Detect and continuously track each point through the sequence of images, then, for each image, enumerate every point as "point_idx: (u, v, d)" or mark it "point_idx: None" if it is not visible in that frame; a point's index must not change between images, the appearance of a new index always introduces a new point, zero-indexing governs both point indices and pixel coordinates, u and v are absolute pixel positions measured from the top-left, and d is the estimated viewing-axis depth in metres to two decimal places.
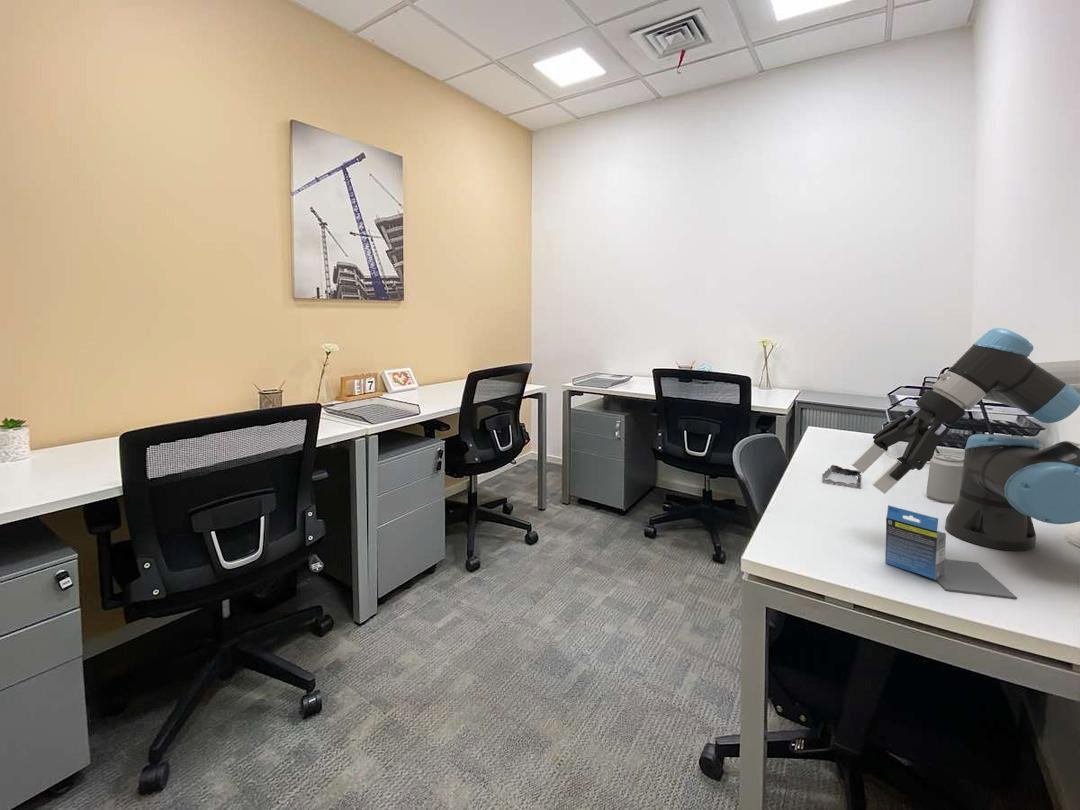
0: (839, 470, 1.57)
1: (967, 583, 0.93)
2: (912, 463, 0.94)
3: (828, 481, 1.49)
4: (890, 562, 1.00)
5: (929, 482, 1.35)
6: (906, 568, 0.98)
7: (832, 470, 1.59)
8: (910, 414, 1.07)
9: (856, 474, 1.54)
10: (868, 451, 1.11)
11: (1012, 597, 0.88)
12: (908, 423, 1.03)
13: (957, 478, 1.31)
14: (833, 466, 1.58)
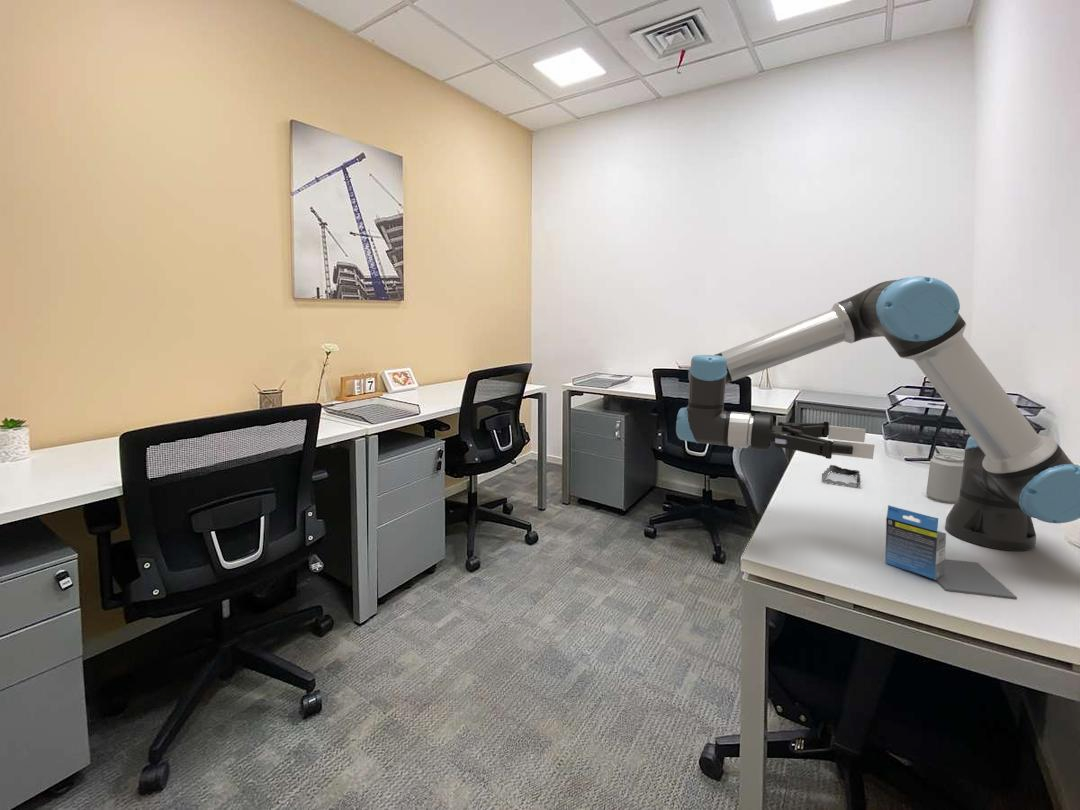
0: (838, 469, 1.58)
1: (967, 583, 0.93)
2: (826, 453, 0.93)
3: (828, 481, 1.49)
4: (890, 562, 1.00)
5: (929, 482, 1.35)
6: (906, 568, 0.98)
7: (831, 470, 1.59)
8: None
9: (855, 474, 1.55)
10: (839, 438, 1.06)
11: (1012, 597, 0.88)
12: None
13: (957, 478, 1.31)
14: (832, 466, 1.59)
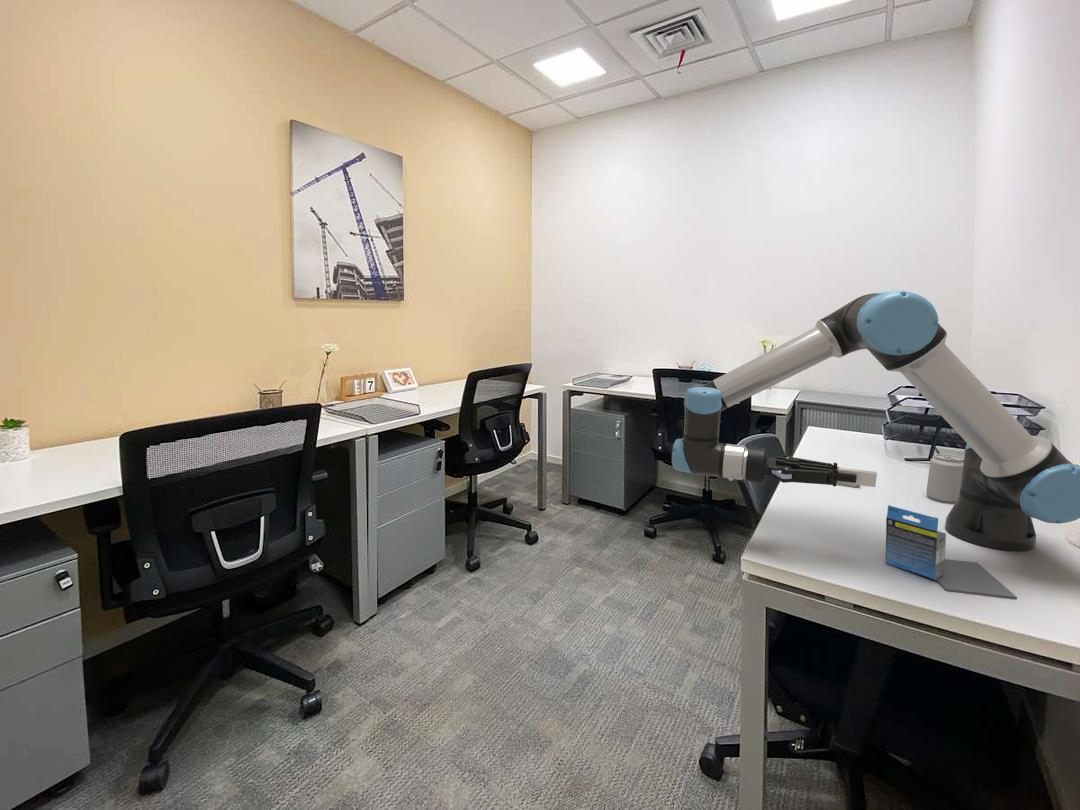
0: None
1: (967, 583, 0.93)
2: (832, 482, 0.99)
3: None
4: (890, 562, 1.00)
5: (929, 482, 1.35)
6: (906, 568, 0.98)
7: None
8: None
9: None
10: None
11: (1012, 597, 0.88)
12: None
13: (957, 478, 1.31)
14: None
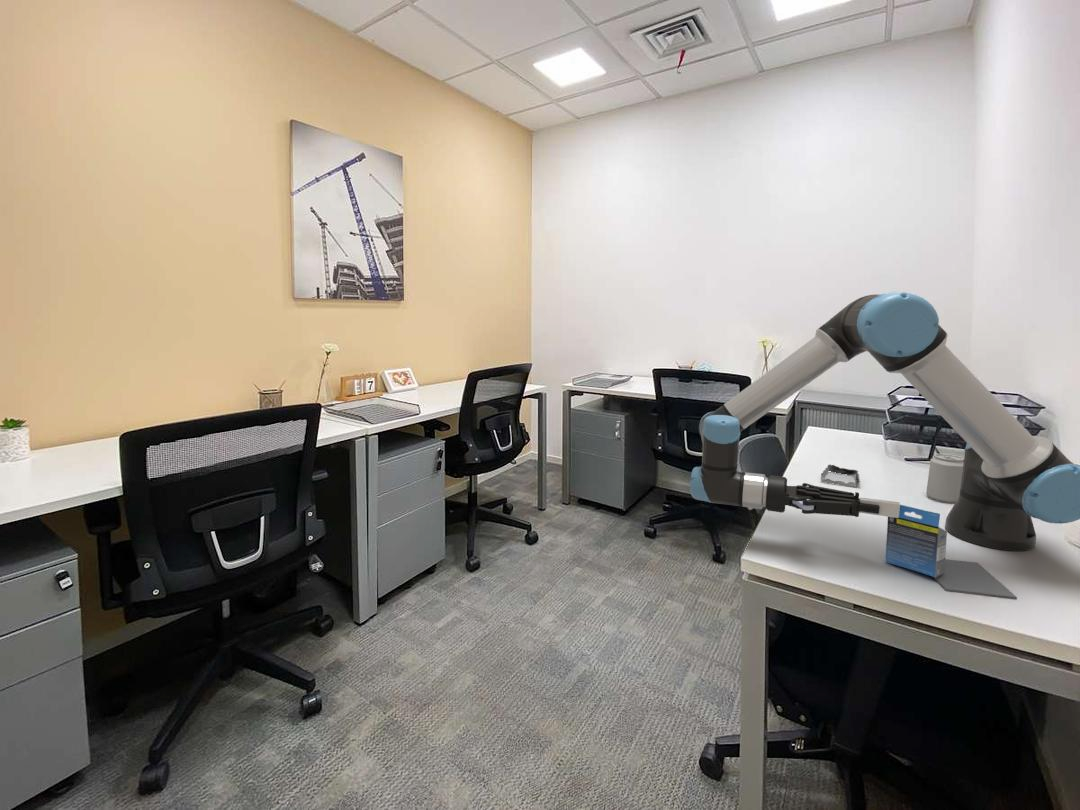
0: (836, 469, 1.58)
1: (967, 583, 0.93)
2: (854, 513, 0.98)
3: (827, 481, 1.49)
4: (890, 561, 1.00)
5: (929, 482, 1.35)
6: (906, 566, 0.98)
7: (829, 470, 1.59)
8: None
9: (853, 473, 1.55)
10: None
11: (1012, 597, 0.88)
12: None
13: (957, 478, 1.31)
14: (830, 466, 1.59)
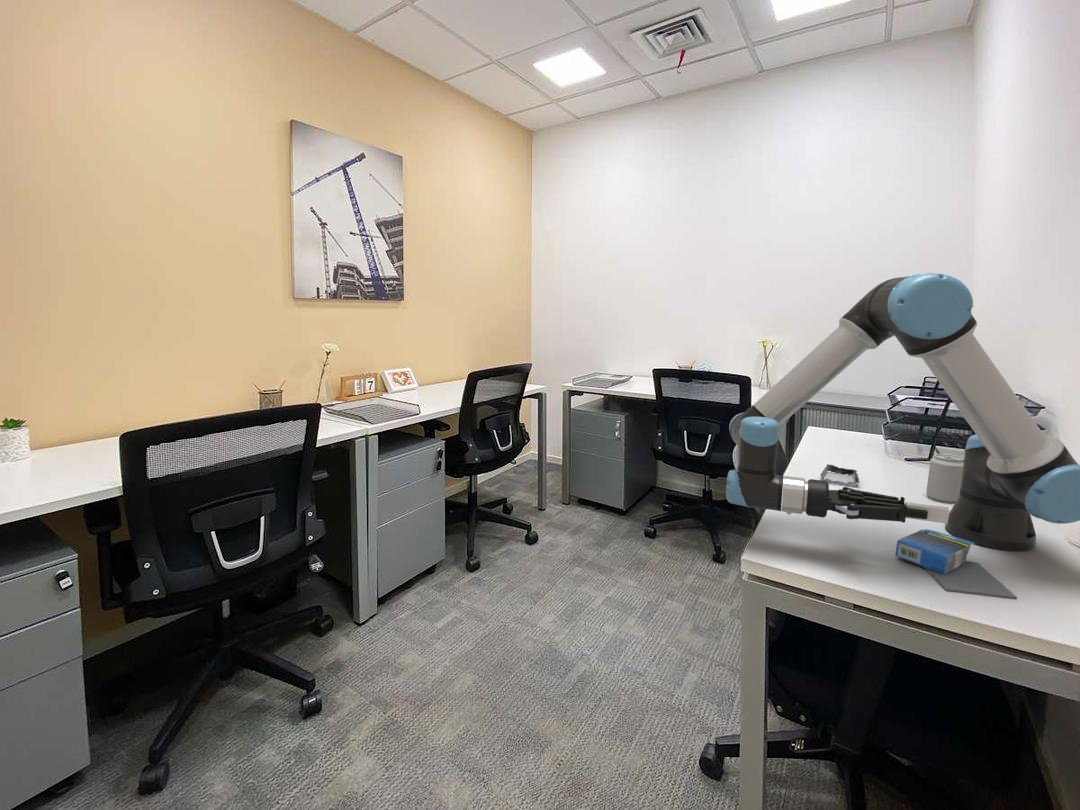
0: (835, 469, 1.58)
1: (967, 583, 0.93)
2: (901, 518, 0.95)
3: None
4: (904, 541, 1.02)
5: (929, 482, 1.35)
6: (920, 546, 0.99)
7: (828, 469, 1.59)
8: None
9: (852, 473, 1.56)
10: None
11: (1012, 597, 0.88)
12: None
13: (957, 478, 1.31)
14: (829, 465, 1.59)
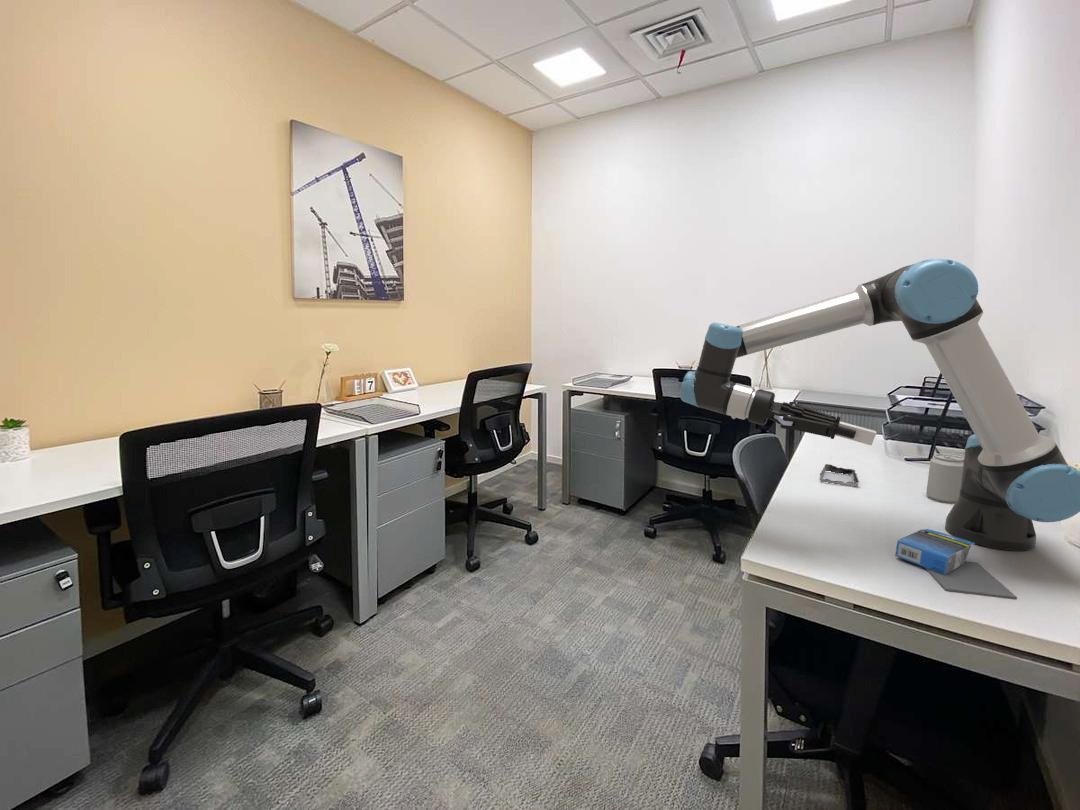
0: (833, 469, 1.58)
1: (967, 583, 0.93)
2: (830, 434, 1.02)
3: (826, 481, 1.49)
4: (904, 541, 1.02)
5: (929, 482, 1.35)
6: (920, 546, 0.99)
7: (826, 469, 1.60)
8: None
9: (850, 473, 1.56)
10: None
11: (1012, 597, 0.88)
12: None
13: (957, 478, 1.31)
14: (827, 465, 1.59)
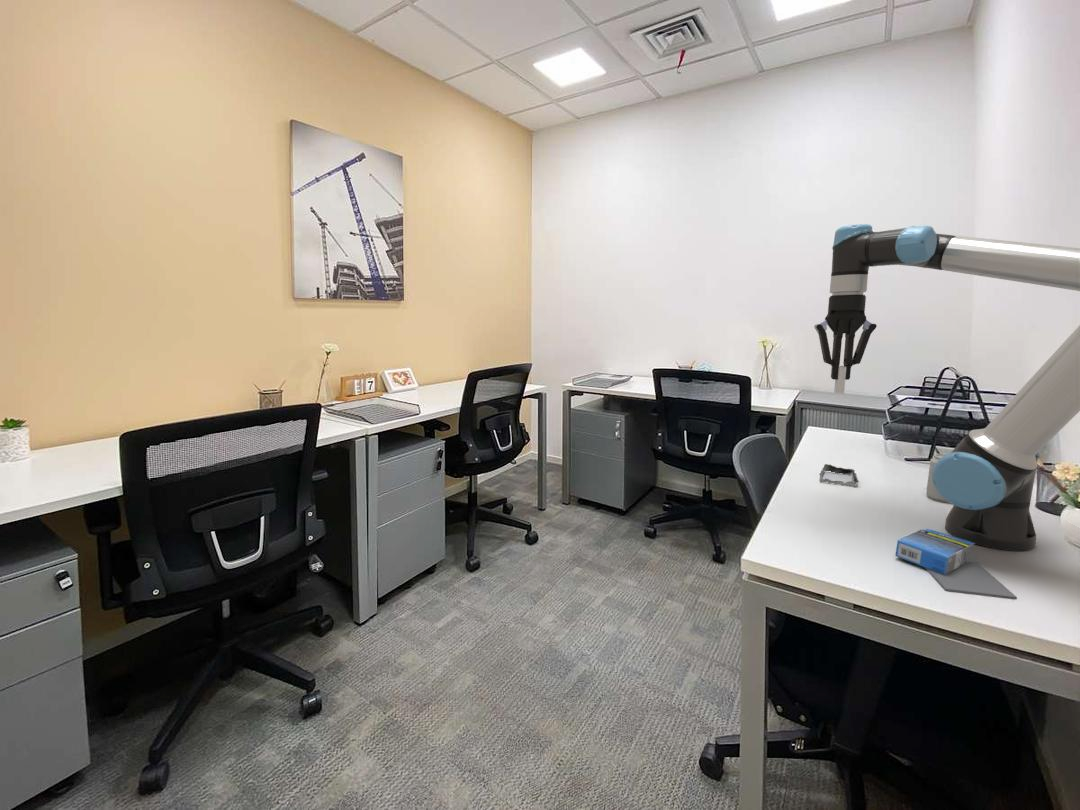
0: (832, 469, 1.59)
1: (967, 583, 0.93)
2: (824, 361, 1.24)
3: (826, 481, 1.49)
4: (904, 541, 1.02)
5: (929, 482, 1.35)
6: (920, 546, 0.99)
7: (825, 469, 1.60)
8: None
9: (849, 472, 1.56)
10: None
11: (1012, 597, 0.88)
12: None
13: None
14: (826, 465, 1.60)
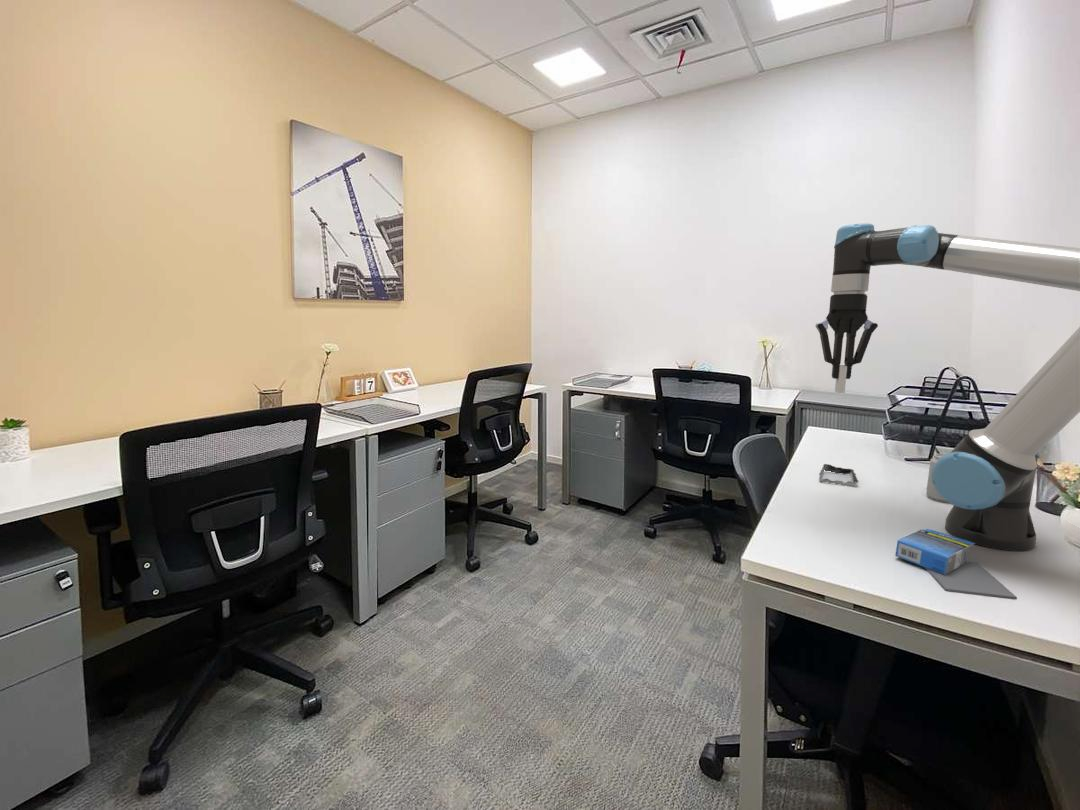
0: (831, 468, 1.59)
1: (967, 583, 0.93)
2: (825, 360, 1.24)
3: (825, 480, 1.49)
4: (904, 541, 1.02)
5: (929, 482, 1.35)
6: (920, 546, 0.99)
7: (825, 469, 1.60)
8: None
9: (849, 472, 1.56)
10: None
11: (1012, 597, 0.88)
12: None
13: None
14: (826, 465, 1.60)
